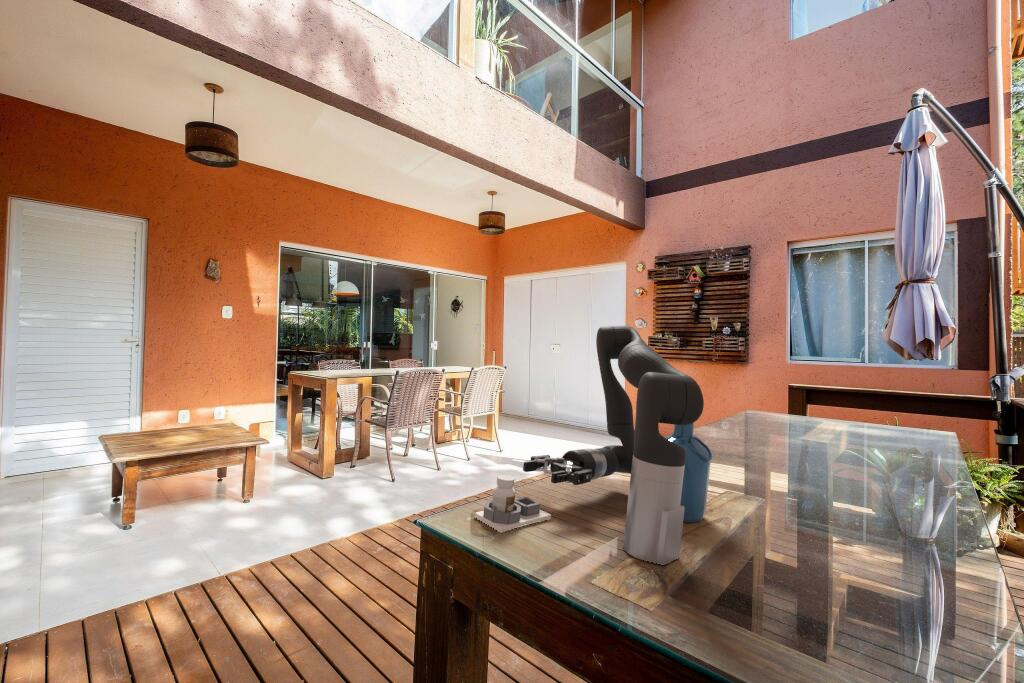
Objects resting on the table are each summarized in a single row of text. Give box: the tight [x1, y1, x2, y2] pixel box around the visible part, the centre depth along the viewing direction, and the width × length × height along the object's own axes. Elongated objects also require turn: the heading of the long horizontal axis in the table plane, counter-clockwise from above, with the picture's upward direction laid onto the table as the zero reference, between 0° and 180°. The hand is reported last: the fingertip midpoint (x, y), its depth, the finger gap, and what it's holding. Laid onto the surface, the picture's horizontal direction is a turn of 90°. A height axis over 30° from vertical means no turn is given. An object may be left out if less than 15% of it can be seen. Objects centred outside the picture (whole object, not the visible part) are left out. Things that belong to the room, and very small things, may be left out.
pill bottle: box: [491, 474, 516, 512], centre depth 90 cm, size 4×4×8 cm
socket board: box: [474, 496, 552, 534], centre depth 92 cm, size 8×14×3 cm, turn 133°
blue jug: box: [663, 422, 713, 523], centre depth 107 cm, size 14×13×30 cm
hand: (538, 472), depth 97 cm, fingers open, 8 cm apart
